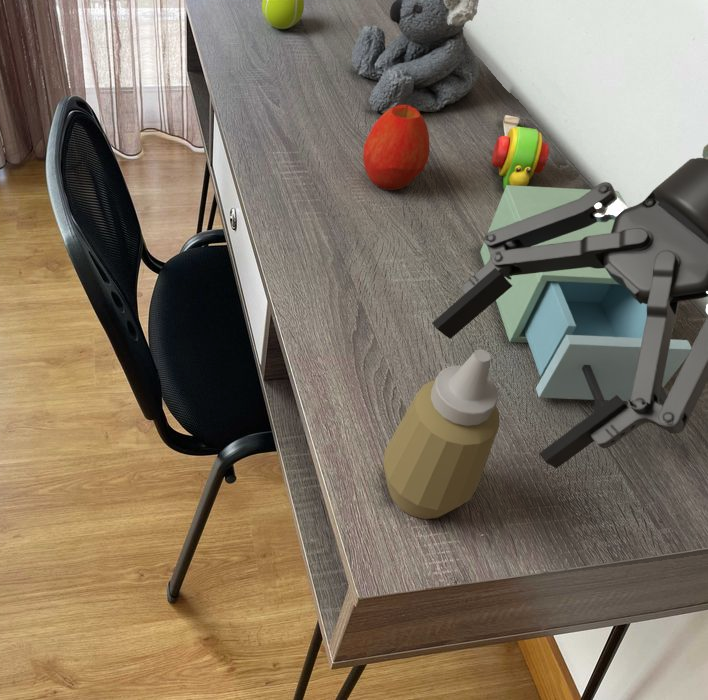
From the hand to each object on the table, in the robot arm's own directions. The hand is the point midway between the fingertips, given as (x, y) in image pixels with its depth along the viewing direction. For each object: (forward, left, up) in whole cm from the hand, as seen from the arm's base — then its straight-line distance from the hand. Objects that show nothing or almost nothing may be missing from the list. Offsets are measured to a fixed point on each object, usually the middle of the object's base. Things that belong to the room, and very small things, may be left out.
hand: (490, 391), depth 56 cm
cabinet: (+20, -22, -13) cm, 32 cm away
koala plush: (+66, -25, -13) cm, 71 cm away
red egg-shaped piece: (+44, -12, -13) cm, 47 cm away
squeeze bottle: (-1, +3, -13) cm, 13 cm away
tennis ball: (+89, -10, -13) cm, 90 cm away
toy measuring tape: (+46, -31, -13) cm, 57 cm away
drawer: (+9, -19, -12) cm, 24 cm away
